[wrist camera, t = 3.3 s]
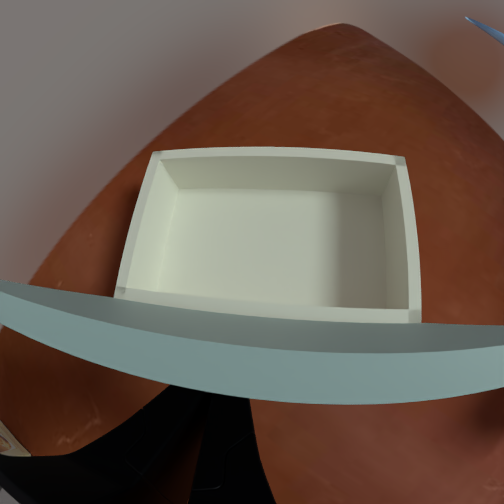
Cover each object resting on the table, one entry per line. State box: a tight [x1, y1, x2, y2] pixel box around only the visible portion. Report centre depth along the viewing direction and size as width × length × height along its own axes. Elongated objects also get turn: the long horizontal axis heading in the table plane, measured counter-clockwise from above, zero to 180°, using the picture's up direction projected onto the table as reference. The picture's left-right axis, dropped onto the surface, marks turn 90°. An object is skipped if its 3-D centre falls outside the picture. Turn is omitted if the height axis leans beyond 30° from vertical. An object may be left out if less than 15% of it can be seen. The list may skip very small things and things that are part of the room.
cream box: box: [114, 147, 421, 323], centre depth 19 cm, size 11×18×5 cm, turn 84°
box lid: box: [0, 280, 504, 404], centre depth 9 cm, size 11×18×1 cm
